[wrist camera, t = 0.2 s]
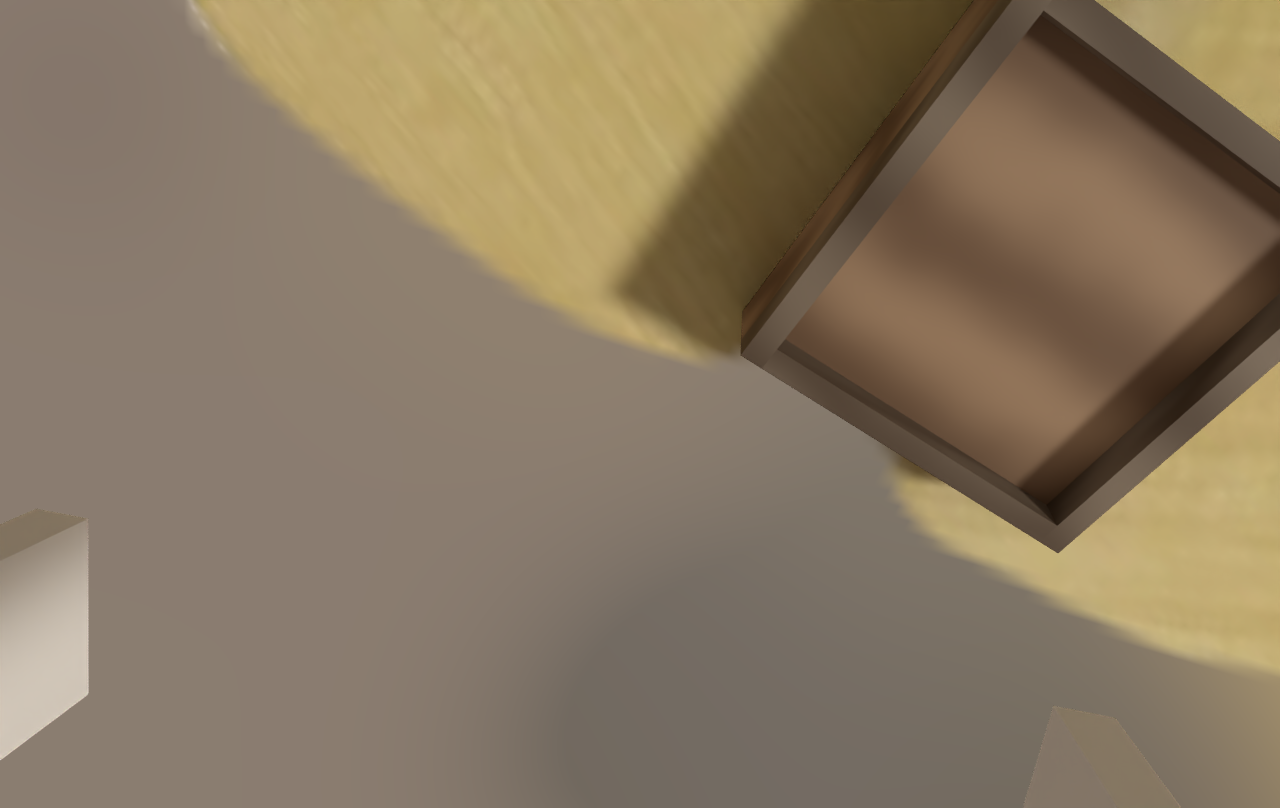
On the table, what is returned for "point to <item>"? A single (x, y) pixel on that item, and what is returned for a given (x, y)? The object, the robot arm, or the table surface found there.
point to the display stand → (1037, 267)
